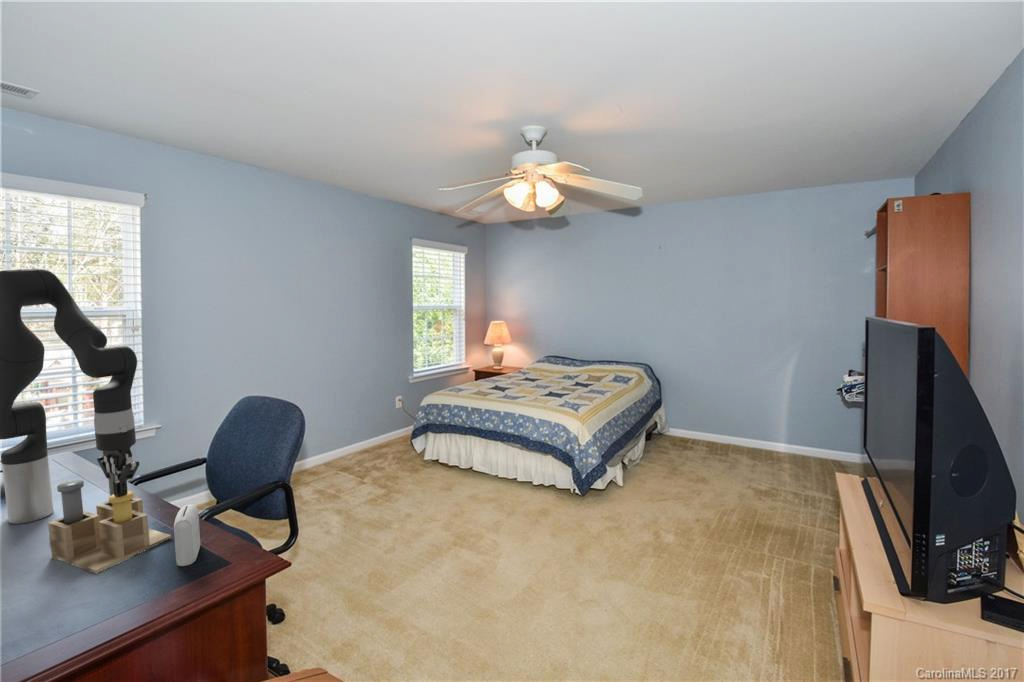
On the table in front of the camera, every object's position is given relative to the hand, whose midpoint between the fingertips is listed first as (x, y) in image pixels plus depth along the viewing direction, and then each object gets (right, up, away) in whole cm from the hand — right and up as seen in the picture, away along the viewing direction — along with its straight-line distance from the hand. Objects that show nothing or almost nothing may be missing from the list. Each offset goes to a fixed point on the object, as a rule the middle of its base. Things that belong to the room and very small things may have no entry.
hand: (121, 495), depth 119 cm
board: (-5, -15, +4) cm, 16 cm away
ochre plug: (0, -10, +1) cm, 10 cm away
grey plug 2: (-8, -6, +9) cm, 14 cm away
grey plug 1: (-12, -7, 0) cm, 14 cm away
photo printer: (+17, -15, +1) cm, 23 cm away
